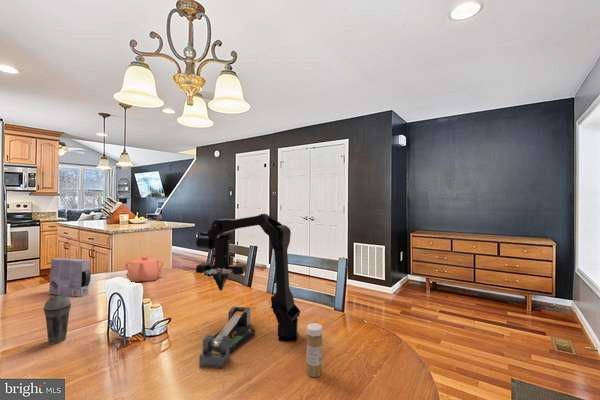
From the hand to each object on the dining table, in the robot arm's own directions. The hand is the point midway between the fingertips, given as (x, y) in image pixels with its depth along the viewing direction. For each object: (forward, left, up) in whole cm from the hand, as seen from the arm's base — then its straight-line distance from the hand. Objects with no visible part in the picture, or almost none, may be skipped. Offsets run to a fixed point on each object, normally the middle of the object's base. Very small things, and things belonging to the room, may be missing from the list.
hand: (221, 290), depth 113 cm
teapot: (+65, -49, -13) cm, 83 cm away
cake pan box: (+86, -22, -13) cm, 90 cm away
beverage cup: (+50, +20, -13) cm, 55 cm away
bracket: (-8, +14, -13) cm, 21 cm away
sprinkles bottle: (-38, +28, -13) cm, 49 cm away
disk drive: (-9, +13, -14) cm, 21 cm away
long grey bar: (-8, +13, -9) cm, 18 cm away
